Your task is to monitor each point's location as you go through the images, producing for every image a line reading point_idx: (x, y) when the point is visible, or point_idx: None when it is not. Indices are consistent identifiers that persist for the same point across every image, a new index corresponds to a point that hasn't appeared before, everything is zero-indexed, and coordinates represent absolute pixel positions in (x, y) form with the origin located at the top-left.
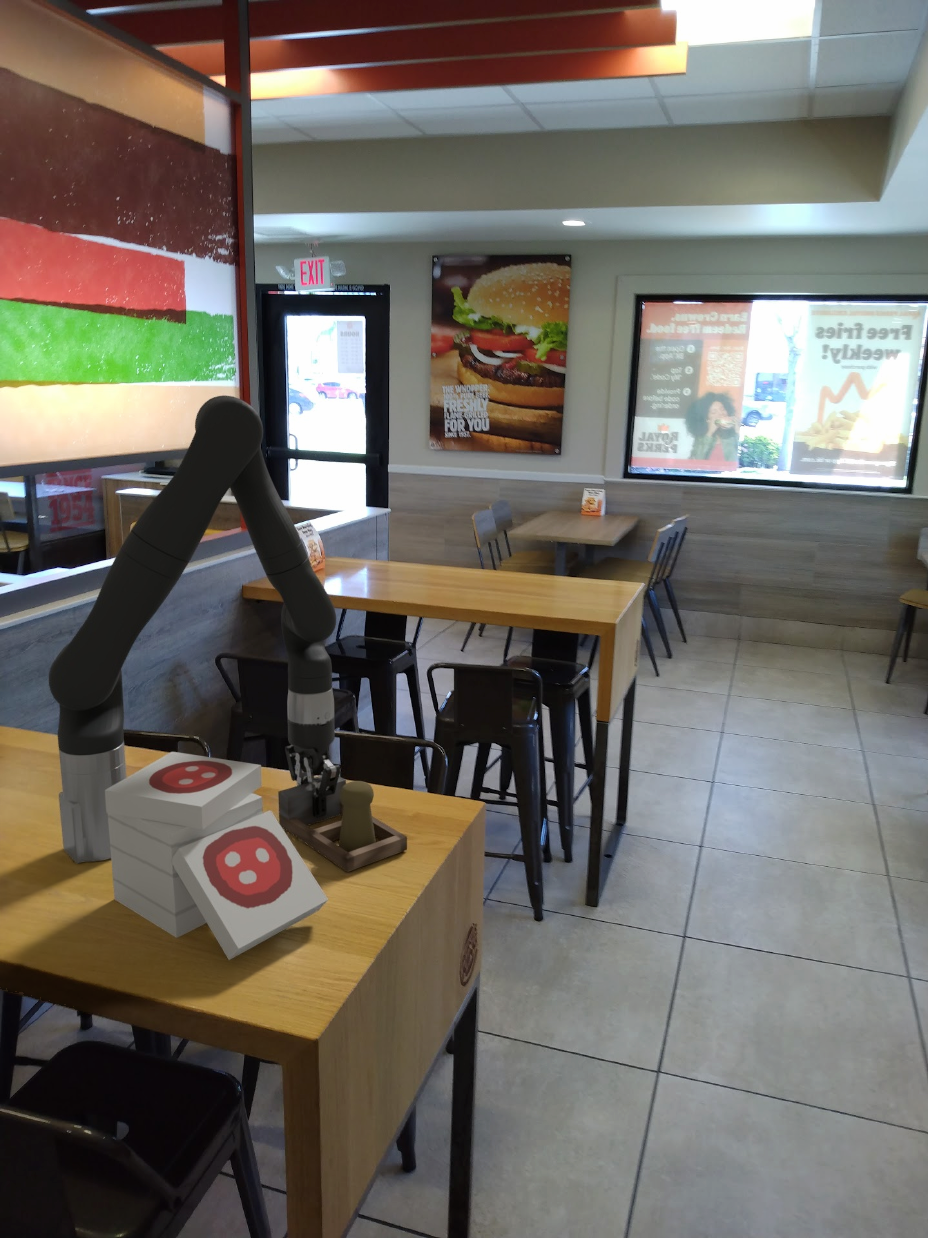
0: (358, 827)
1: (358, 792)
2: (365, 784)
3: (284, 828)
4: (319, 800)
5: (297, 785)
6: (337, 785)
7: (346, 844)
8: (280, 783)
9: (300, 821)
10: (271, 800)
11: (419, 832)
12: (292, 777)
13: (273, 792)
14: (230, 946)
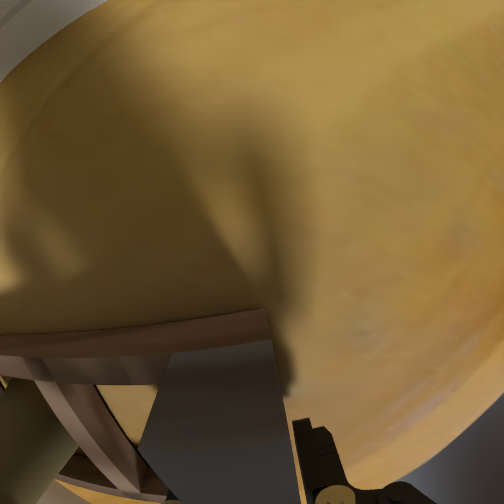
0: None
1: None
2: None
3: (220, 316)
4: (168, 495)
5: (337, 493)
6: None
7: (3, 393)
8: (499, 364)
9: (130, 383)
10: (463, 329)
11: (109, 494)
12: (394, 498)
13: (486, 342)
14: None
